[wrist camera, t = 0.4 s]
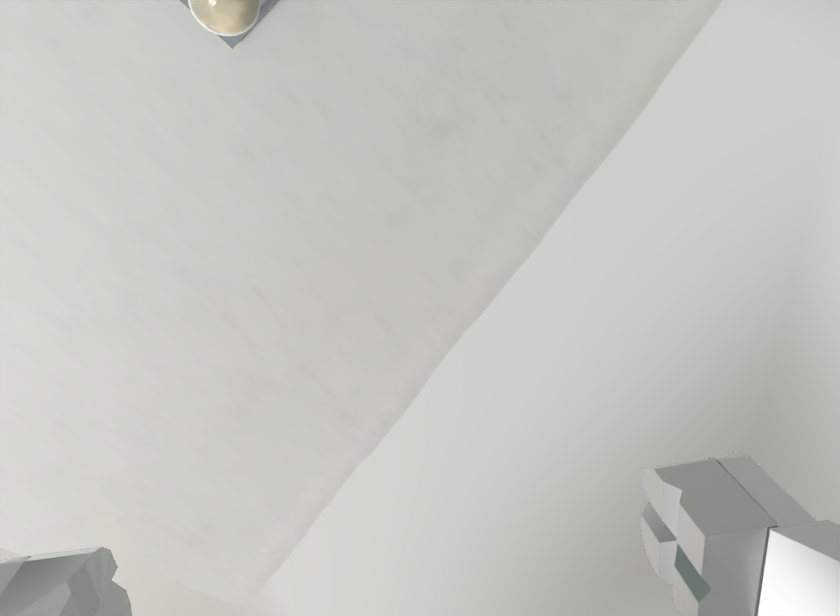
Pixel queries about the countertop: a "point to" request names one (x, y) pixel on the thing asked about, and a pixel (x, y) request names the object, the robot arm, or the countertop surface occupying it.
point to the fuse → (226, 15)
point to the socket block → (232, 41)
